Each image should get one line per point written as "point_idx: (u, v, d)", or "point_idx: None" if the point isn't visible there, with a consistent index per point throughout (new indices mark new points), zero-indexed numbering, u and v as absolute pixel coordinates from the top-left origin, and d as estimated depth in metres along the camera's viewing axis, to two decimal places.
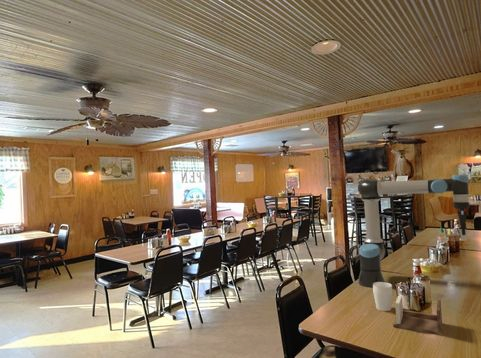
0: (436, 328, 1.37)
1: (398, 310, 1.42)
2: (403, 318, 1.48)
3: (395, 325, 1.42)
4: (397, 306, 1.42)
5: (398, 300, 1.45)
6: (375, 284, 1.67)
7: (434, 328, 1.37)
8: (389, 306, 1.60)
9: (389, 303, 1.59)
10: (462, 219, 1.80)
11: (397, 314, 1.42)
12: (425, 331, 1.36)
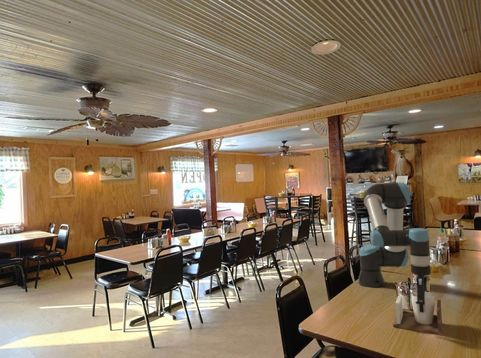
0: (436, 328, 1.37)
1: (398, 310, 1.42)
2: (403, 318, 1.48)
3: (395, 325, 1.42)
4: (397, 306, 1.42)
5: (398, 300, 1.45)
6: (413, 293, 1.47)
7: (434, 328, 1.37)
8: (431, 319, 1.40)
9: (431, 316, 1.40)
10: (420, 291, 1.35)
11: (397, 314, 1.42)
12: (425, 331, 1.36)
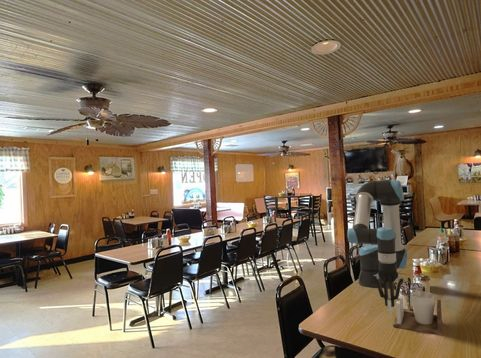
0: (436, 328, 1.37)
1: (399, 310, 1.42)
2: (403, 318, 1.48)
3: (395, 325, 1.42)
4: (397, 306, 1.42)
5: (399, 300, 1.45)
6: (413, 293, 1.47)
7: (434, 328, 1.37)
8: (431, 319, 1.40)
9: (431, 316, 1.40)
10: None
11: (398, 314, 1.42)
12: (425, 331, 1.36)
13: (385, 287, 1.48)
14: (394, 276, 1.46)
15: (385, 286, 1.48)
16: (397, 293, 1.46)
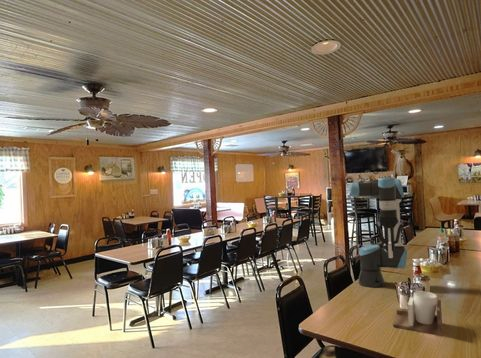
0: (436, 328, 1.37)
1: (411, 312, 1.39)
2: (403, 318, 1.48)
3: (395, 325, 1.42)
4: (409, 308, 1.40)
5: (410, 302, 1.43)
6: (415, 293, 1.47)
7: (434, 328, 1.37)
8: (432, 319, 1.40)
9: (432, 316, 1.40)
10: None
11: (410, 316, 1.40)
12: (425, 331, 1.36)
13: (386, 233, 1.59)
14: (394, 222, 1.57)
15: (386, 232, 1.59)
16: (397, 237, 1.56)
